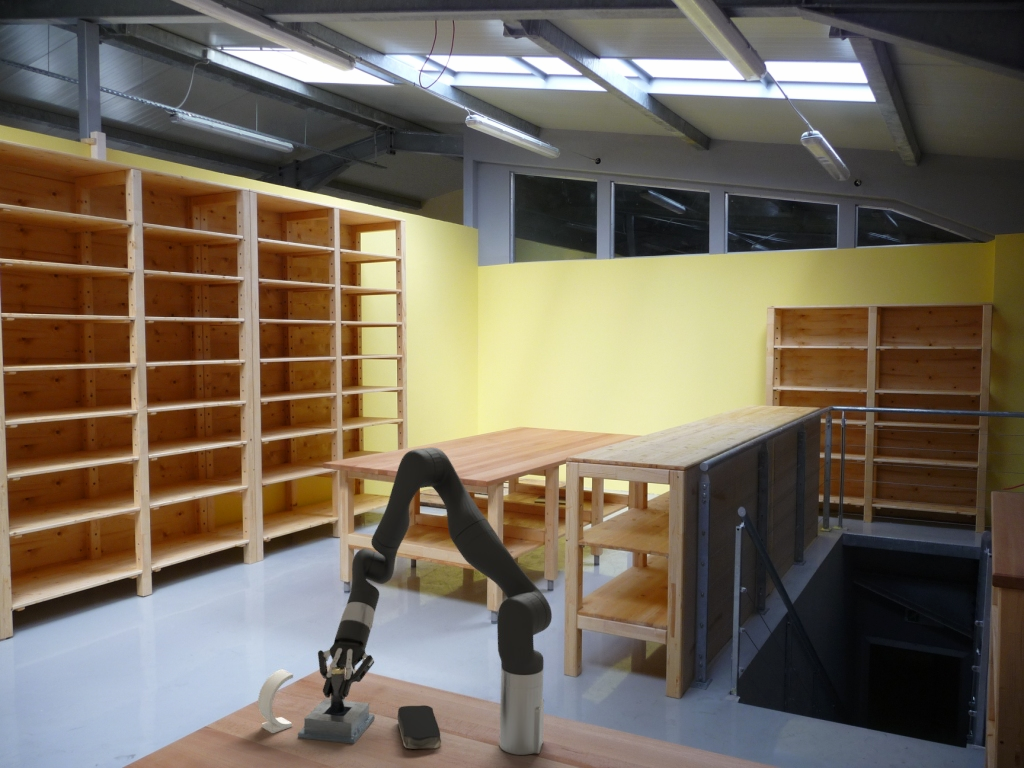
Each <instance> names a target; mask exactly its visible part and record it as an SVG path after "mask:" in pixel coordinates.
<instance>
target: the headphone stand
mask: <svg viewBox="0 0 1024 768" xmlns="http://www.w3.org/2000/svg"><path fill="white" fill-rule="evenodd" d="M293 678H294V673H291V672H290V671H288V670H285V669H284V668H281V669H279V670H278V669H277V670H276V671H274V672H273V673H272V674H271V675H269V677H268V678H266V680H265V681H264V682H263V684H262V686H261V689H259V693H258V694H259V695H258V698H257V699H258V701H257V707H258V710H259V713H260V715H261V716H262V717H263V718H264V719H265V720H266V721H265V722H262V723H261V728H262V729H264V730H266V731H267V732H269V733H271V734H275V733H278V732H282V731H283V730H287V729H290V728H292V727H293V722H291V721H289V720H288V719H286V718H284V717H282V716H280V717H275V714H274V711H273V704H274V700H275V696H276V694H277V692H278V691H279V689H280V688H281V687H282V686H283V684H285V683H286V682H288V681H289V680H292V679H293Z"/></svg>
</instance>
